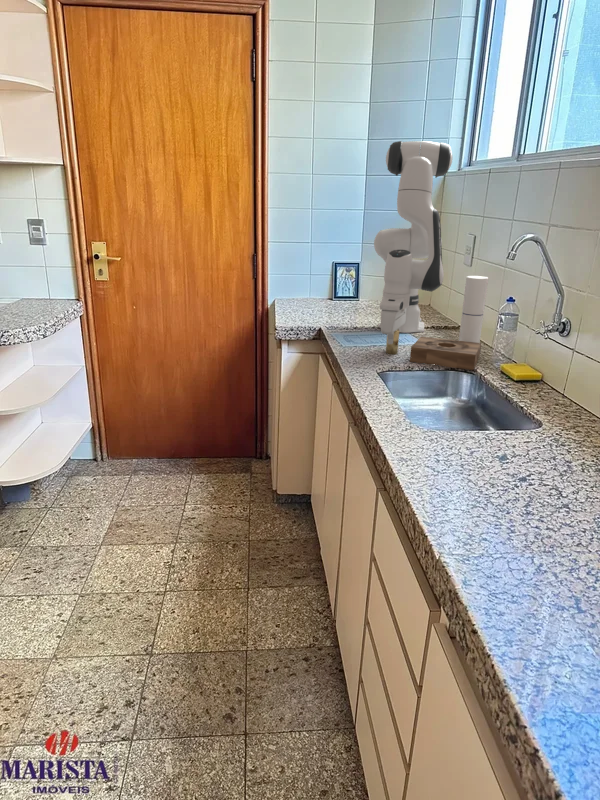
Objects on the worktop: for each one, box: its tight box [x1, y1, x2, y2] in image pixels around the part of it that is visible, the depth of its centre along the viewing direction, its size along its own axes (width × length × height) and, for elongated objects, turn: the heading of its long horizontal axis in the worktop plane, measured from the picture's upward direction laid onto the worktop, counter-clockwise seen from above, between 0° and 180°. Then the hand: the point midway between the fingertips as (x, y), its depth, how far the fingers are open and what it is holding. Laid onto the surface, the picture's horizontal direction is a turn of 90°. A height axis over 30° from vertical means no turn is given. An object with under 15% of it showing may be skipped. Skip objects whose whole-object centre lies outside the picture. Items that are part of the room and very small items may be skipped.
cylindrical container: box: [458, 275, 489, 343], centre depth 192 cm, size 7×7×25 cm
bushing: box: [385, 329, 400, 356], centre depth 187 cm, size 4×4×8 cm
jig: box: [409, 336, 482, 371], centre depth 181 cm, size 16×20×5 cm
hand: (392, 341), depth 187 cm, fingers closed on bushing, 4 cm apart
